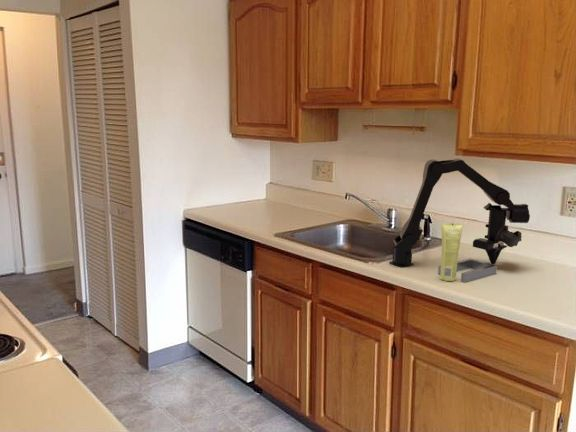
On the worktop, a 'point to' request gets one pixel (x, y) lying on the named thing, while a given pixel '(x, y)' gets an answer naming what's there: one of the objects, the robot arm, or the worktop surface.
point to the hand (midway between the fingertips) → (493, 264)
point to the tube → (450, 249)
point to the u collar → (479, 272)
